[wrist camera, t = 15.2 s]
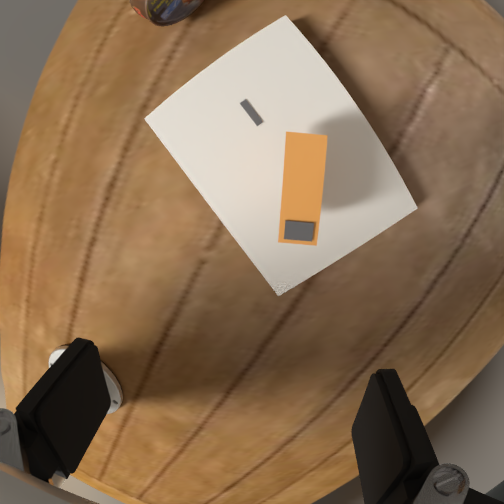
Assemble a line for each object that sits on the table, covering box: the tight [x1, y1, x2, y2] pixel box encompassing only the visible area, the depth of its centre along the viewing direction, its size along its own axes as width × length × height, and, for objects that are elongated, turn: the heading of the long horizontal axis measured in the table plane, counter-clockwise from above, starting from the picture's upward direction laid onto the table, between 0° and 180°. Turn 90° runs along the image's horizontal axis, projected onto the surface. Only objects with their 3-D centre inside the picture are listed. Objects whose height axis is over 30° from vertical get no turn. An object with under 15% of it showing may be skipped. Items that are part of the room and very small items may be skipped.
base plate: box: [145, 15, 417, 296], centre depth 25 cm, size 15×20×4 cm
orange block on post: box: [278, 132, 328, 246], centre depth 21 cm, size 7×2×5 cm, turn 177°
